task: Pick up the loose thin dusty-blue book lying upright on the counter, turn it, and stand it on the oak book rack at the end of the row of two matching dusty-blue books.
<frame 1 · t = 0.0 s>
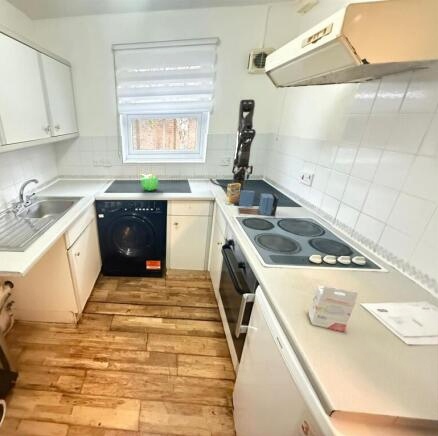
hand: (241, 179, 182), 17 cm above the worktop, tool pointing down, fingers open, 8 cm apart
shelved book near: (261, 212, 161), point 1 cm above the worktop, touching book rack
candy box: (231, 203, 182), on the worktop
book rack: (255, 213, 162), on the worktop
shelved book far: (266, 212, 160), point 1 cm above the worktop, touching book rack
blue book: (245, 206, 174), on the worktop
ink cartridge box: (324, 322, 75), on the worktop
green rounded lump: (149, 190, 218), on the worktop
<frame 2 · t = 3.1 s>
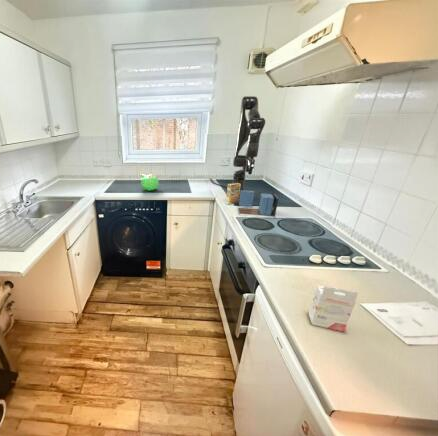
hand: (248, 173, 168), 24 cm above the worktop, tool pointing down, fingers open, 8 cm apart
nothing on the worktop moved.
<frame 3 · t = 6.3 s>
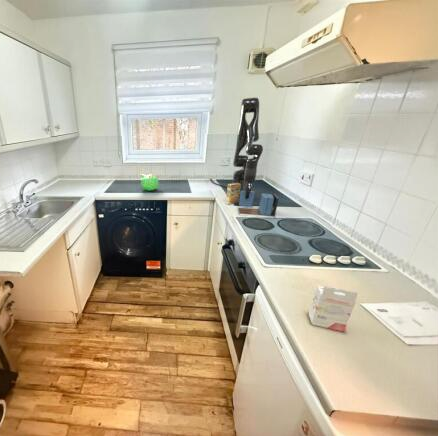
hand: (246, 197, 172), 7 cm above the worktop, tool pointing down, fingers closed on blue book, 3 cm apart
blue book: (245, 206, 175), on the worktop, touching gripper
everything else where it was.
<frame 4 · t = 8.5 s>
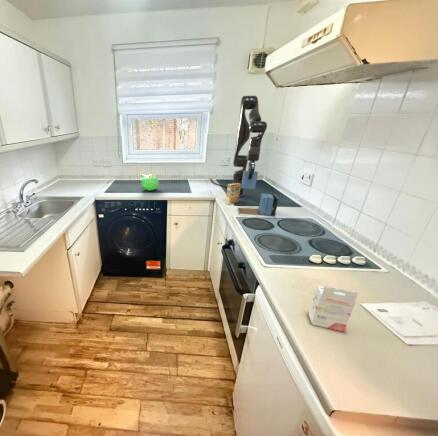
hand: (249, 178, 166), 21 cm above the worktop, tool pointing down, fingers closed on blue book, 3 cm apart
blue book: (248, 188, 169), point 14 cm above the worktop, touching gripper
everything else where it was.
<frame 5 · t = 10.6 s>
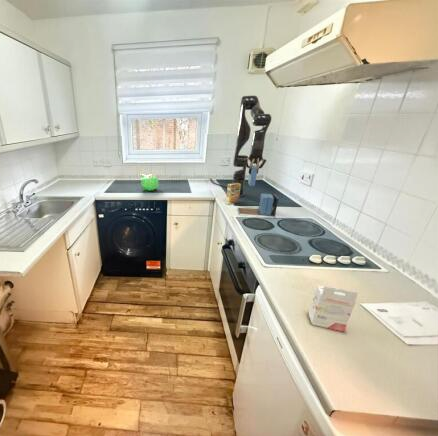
hand: (252, 174, 159), 26 cm above the worktop, tool pointing down, fingers closed on blue book, 3 cm apart
blue book: (251, 184, 161), point 18 cm above the worktop, touching gripper
everything else where it was.
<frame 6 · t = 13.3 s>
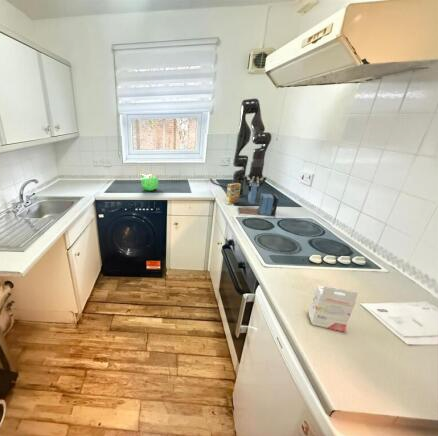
hand: (252, 191, 158), 15 cm above the worktop, tool pointing down, fingers closed on blue book, 3 cm apart
blue book: (251, 201, 160), point 8 cm above the worktop, touching gripper
everything else where it was.
when the fingers open (8 cm above the worktop, at t = 15.2 s): blue book stays where it is, resting on book rack.
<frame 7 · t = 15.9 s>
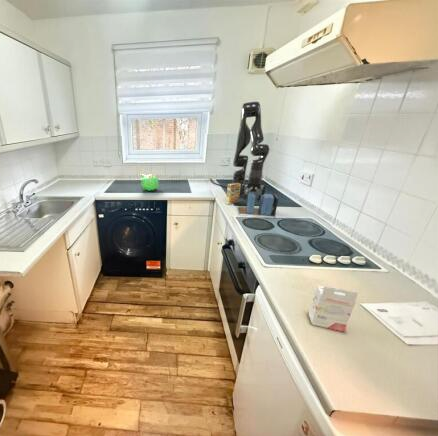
hand: (251, 200, 160), 9 cm above the worktop, tool pointing down, fingers open, 8 cm apart
shelved book near: (261, 212, 161), point 1 cm above the worktop, touching book rack, gripper, shelved book far
shelved book far: (266, 212, 160), point 1 cm above the worktop, touching book rack, shelved book near
blue book: (249, 211, 163), point 1 cm above the worktop, touching book rack
everything else where it was.
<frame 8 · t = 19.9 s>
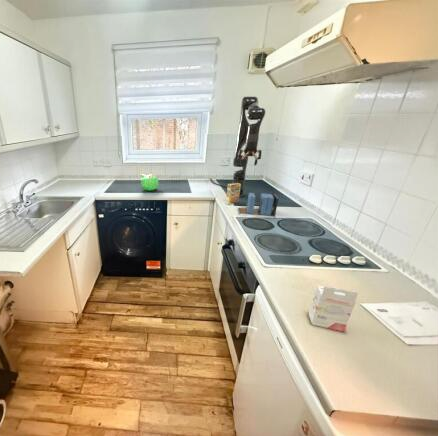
hand: (248, 165, 165), 30 cm above the worktop, tool pointing down, fingers open, 8 cm apart
shelved book near: (261, 212, 161), point 1 cm above the worktop, touching book rack
shelved book far: (266, 212, 160), point 1 cm above the worktop, touching book rack
everything else where it was.
at the end: blue book inside the target area (0.2 cm from its centre), point 1.0 cm above the worktop; blue book tilted 0°; blue book 7.7 cm from the shelved book near (horizontally) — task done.
